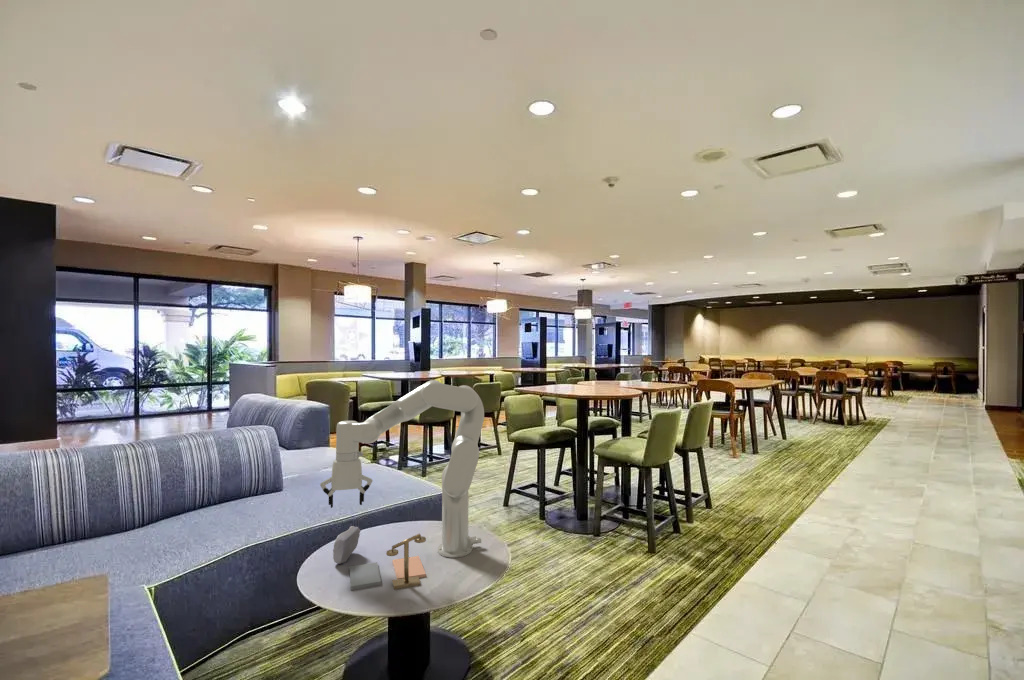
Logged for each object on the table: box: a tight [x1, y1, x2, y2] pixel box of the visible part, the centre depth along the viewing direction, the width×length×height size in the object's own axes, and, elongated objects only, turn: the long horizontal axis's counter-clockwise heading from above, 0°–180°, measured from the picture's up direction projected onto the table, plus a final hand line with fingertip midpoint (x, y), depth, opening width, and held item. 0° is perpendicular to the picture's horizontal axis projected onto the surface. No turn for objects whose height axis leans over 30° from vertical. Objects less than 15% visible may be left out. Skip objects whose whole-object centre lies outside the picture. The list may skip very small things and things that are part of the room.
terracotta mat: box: [392, 555, 427, 580], centre depth 160 cm, size 9×14×1 cm, turn 20°
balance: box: [385, 533, 427, 591], centre depth 150 cm, size 12×4×16 cm, turn 110°
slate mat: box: [349, 561, 382, 591], centre depth 155 cm, size 9×14×1 cm, turn 20°
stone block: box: [332, 525, 361, 565], centre depth 168 cm, size 12×5×10 cm, turn 168°
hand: (346, 505), depth 168 cm, fingers open, 9 cm apart
